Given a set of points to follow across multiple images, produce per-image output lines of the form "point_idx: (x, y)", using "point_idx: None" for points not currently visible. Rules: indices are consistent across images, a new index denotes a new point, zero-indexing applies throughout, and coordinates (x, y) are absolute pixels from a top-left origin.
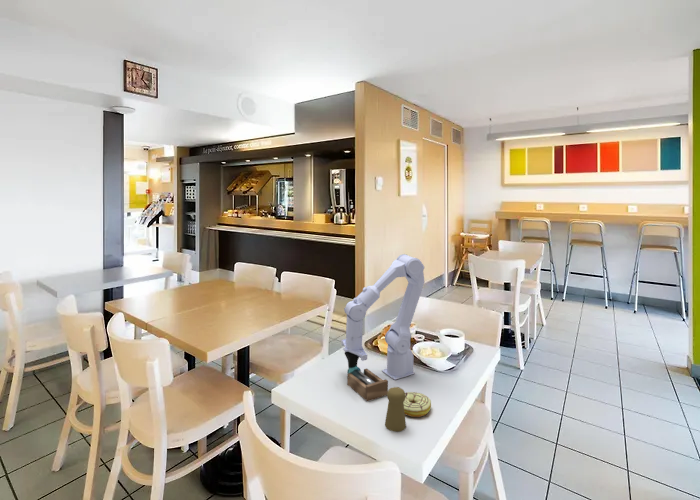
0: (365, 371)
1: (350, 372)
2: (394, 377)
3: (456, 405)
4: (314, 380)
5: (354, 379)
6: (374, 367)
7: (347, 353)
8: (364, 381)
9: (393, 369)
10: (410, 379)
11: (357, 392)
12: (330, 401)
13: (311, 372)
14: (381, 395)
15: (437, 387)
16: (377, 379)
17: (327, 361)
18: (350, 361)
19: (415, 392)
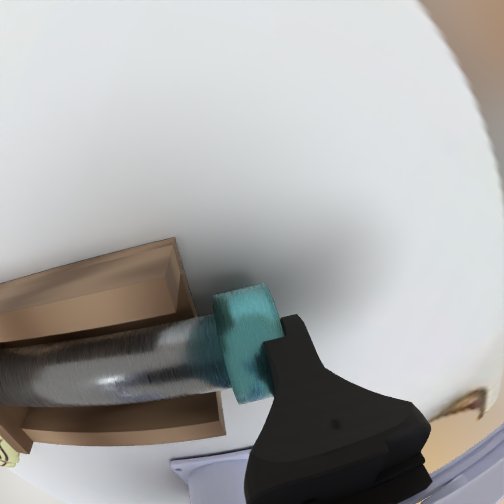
0: (195, 417)
1: (217, 315)
2: (182, 467)
3: (24, 478)
4: (331, 21)
5: (40, 304)
6: None
7: (342, 476)
8: (40, 361)
9: (199, 494)
10: (168, 486)
11: (44, 272)
12: (9, 69)
13: (432, 63)
14: None
15: (108, 500)
16: (60, 430)
17: (491, 213)
18: (277, 398)
19: (4, 460)
